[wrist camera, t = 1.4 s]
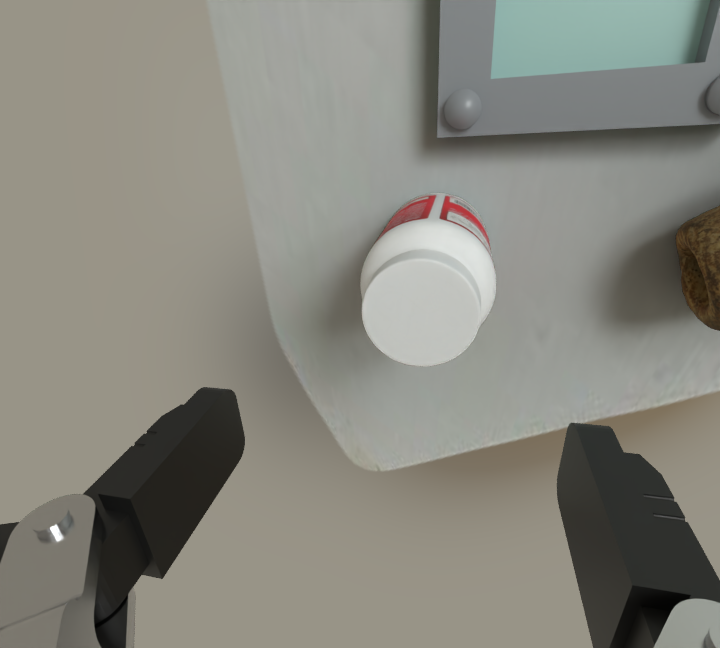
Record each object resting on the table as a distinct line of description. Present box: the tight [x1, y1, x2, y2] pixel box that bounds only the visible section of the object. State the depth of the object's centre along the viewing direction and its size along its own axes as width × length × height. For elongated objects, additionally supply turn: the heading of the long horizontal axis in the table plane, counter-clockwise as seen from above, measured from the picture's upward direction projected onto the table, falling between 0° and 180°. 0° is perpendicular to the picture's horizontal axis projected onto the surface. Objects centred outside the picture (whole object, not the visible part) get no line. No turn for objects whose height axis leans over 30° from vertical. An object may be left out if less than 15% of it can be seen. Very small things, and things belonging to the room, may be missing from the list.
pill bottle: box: [360, 193, 496, 367], centre depth 21 cm, size 6×6×11 cm
